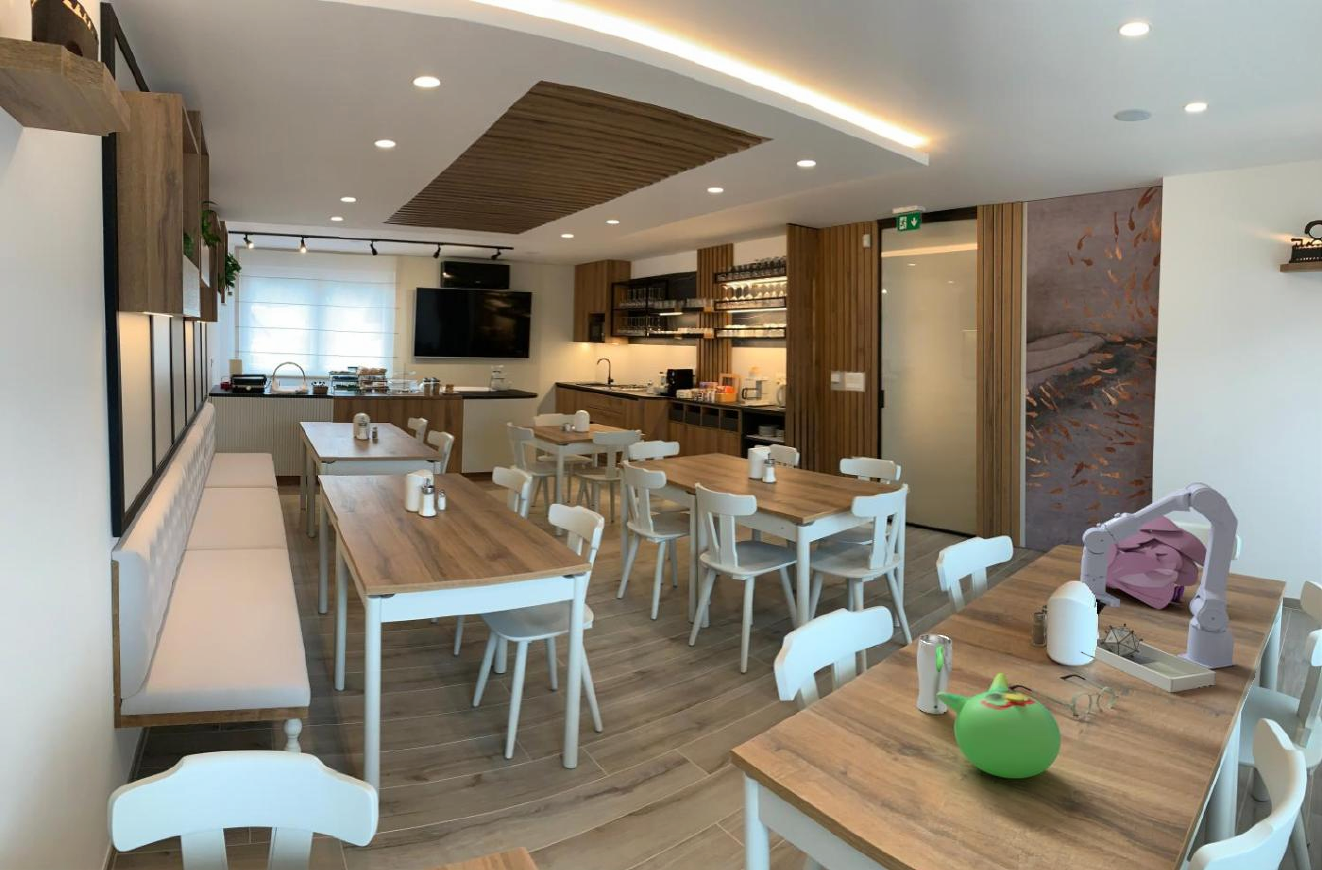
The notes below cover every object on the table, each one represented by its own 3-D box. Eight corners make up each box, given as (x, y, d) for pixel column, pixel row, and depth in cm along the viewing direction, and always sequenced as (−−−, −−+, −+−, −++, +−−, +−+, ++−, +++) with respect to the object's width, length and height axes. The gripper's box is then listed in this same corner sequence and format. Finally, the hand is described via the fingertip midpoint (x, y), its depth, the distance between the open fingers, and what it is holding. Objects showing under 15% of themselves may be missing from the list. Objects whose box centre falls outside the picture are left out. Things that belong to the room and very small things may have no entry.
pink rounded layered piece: (1204, 618, 230) (1227, 530, 229) (1190, 621, 213) (1215, 526, 212) (1082, 581, 255) (1102, 502, 254) (1061, 582, 238) (1083, 496, 237)
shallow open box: (1121, 646, 193) (1122, 634, 192) (1215, 685, 170) (1216, 672, 170) (1079, 651, 188) (1080, 640, 188) (1170, 692, 166) (1171, 679, 165)
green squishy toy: (1003, 805, 122) (1008, 720, 121) (928, 755, 137) (932, 678, 136) (1078, 782, 129) (1085, 701, 128) (999, 736, 145) (1004, 664, 143)
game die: (1128, 673, 184) (1153, 652, 177) (1093, 659, 185) (1118, 636, 179) (1124, 646, 191) (1149, 624, 184) (1091, 631, 192) (1114, 609, 185)
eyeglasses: (1065, 720, 153) (1066, 697, 152) (1006, 689, 167) (1007, 668, 166) (1122, 707, 159) (1124, 685, 158) (1061, 678, 173) (1062, 658, 172)
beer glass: (948, 703, 158) (952, 635, 157) (949, 718, 152) (954, 647, 150) (914, 698, 160) (917, 631, 159) (913, 712, 154) (917, 643, 152)
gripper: (1058, 568, 198) (1055, 617, 199) (1106, 583, 184) (1102, 636, 185) (1079, 566, 200) (1075, 615, 201) (1127, 581, 186) (1123, 634, 188)
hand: (1089, 625), depth 193 cm, fingers closed
